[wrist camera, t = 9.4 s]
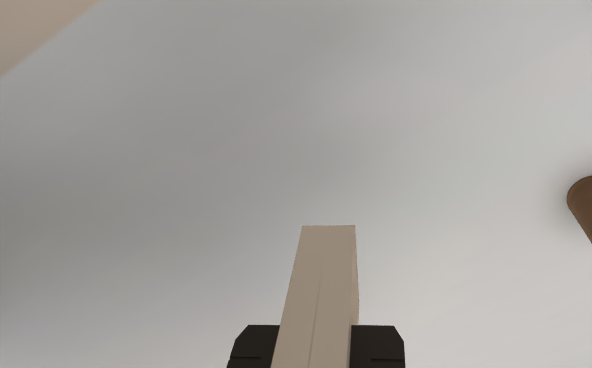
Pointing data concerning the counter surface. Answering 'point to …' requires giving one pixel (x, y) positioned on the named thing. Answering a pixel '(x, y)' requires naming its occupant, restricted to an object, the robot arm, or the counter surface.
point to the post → (582, 204)
